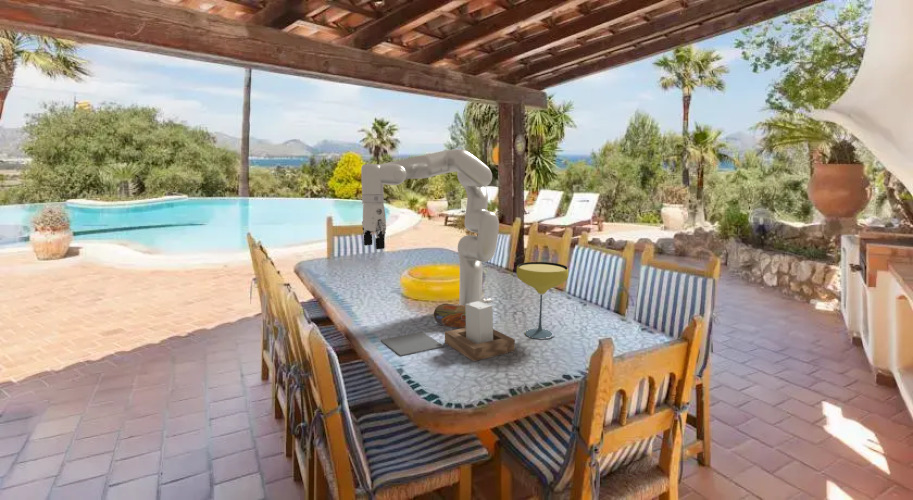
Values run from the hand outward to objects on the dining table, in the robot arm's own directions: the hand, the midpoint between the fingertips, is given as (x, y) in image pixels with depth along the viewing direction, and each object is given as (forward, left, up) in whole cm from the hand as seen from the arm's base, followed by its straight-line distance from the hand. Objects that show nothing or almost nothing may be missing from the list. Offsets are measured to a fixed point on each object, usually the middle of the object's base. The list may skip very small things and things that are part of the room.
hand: (374, 246), depth 171 cm
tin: (-27, +12, -31) cm, 43 cm away
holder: (-23, +35, -31) cm, 52 cm away
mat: (-5, +21, -31) cm, 37 cm away
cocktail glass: (-49, +36, -31) cm, 68 cm away
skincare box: (-23, +35, -31) cm, 52 cm away
